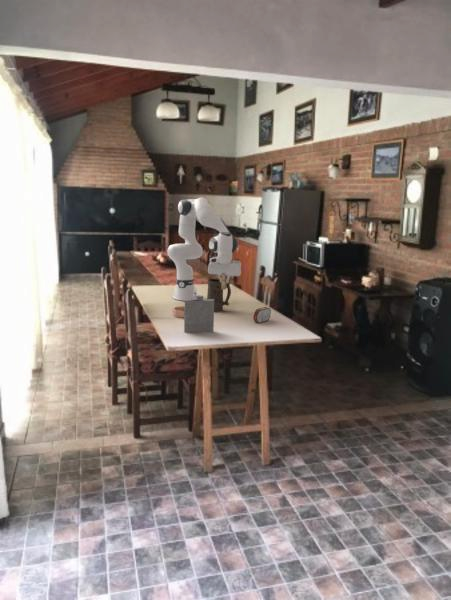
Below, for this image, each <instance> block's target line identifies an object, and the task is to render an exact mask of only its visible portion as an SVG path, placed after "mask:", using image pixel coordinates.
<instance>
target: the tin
mask: <svg viewBox="0 0 451 600" xmlns="http://www.w3.org/2000/svg"><path fill="white" fill-rule="evenodd" d="M271 313H272V309H271V308H270V307H268V306H264V307H259V308H257V309H255V311H254V312H253V318H252V319H253V321H254V322H255V323H258V324H260V323H263V322H264V323H265V322H267V321H269V319H270V318H271Z"/></svg>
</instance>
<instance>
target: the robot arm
mask: <svg viewBox="0 0 451 600" xmlns="http://www.w3.org/2000/svg"><path fill="white" fill-rule="evenodd" d="M177 211H178V213H179V221H178V223H179V224H178V235H179V237H180V238H182V239H183V240H184V243H173V244H170V245H169V246H168V248H167V255H168V256H167V257H169V259H171V260H172V261H173V263H174V265H175V267H176V281H175V283H176V285H174V288H173V295H172V297H171V298H172V299H174V300H177V301H184V302H185V300H190V299H197V295H199V294H198V292H197V291H198V289H197V287H196V286H195V285H194V284H195V278H193V276H194V275H193V274H194V270H193V267H192V266H191V265H190V264H188V263H187V260H195V259H199V258H201V257H202V256H203V253H204V249H203V247H202V245H201V244H200V243H199V242H198V241H197V237H196V220H197V221H198V222H199V223H200V225H202V226H204V227H207V228H210V229H214V230H216V231H218V232H219V233H218V234H217V235H216V236H213V237H211V238H210V239H209V240H208V249H209V250H210V251H211V252H212V253H217V256H214V257H211V258H209V263H208V266H207V273H208V275H217V277H218V279H219V280H220V282H222V273H225V275H227V279H226V280H225V283H226V284H227V283H229V280H230V278H231V277H232V276H233V277H240V276H241V275H242V269H241V268H242V262H241V261H240V260H233V253H234V252H236V251H237V249H238V247H239V242H238V241H239V240H237V238H236V236H234V235H233V234H232V233H231V231H230V229H229V227H228V226H227V224H226V223H225V221H224V220H223V219H222V218H220V217H219V216H218V215H217V214H216V213H215V212H214V210H213V208H212V206H211V204H210V202H209V200H207V199H206V198H204V197H198V198H190V199H186V198H185V199H181V200H179V202H178V204H177ZM196 218H197V219H196Z"/></svg>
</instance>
